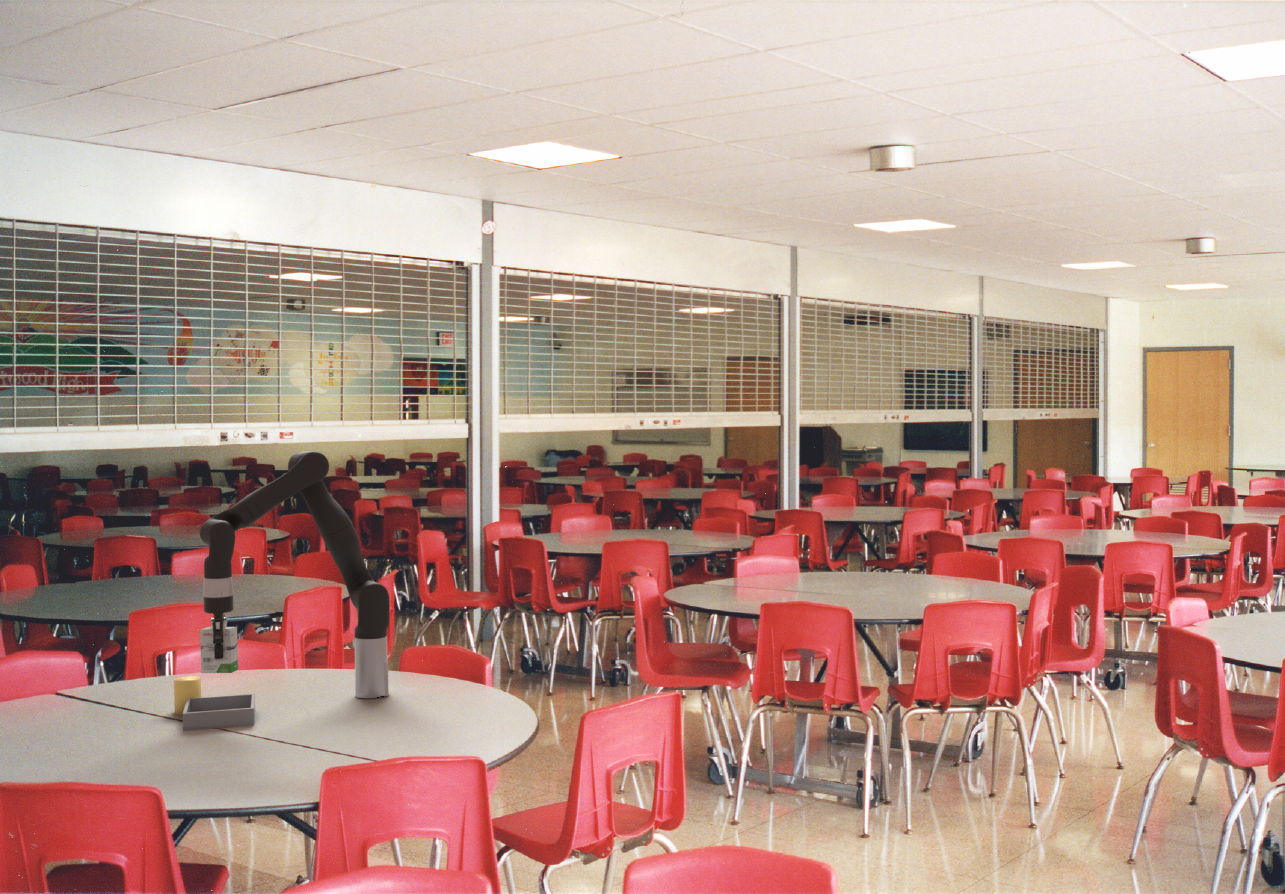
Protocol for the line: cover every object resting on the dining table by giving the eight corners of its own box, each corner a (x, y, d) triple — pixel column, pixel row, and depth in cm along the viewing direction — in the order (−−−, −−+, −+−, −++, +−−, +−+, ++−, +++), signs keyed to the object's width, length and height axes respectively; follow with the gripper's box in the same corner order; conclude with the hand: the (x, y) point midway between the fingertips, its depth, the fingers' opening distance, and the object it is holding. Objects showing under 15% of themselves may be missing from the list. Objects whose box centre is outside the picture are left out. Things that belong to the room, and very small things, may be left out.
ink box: (239, 669, 329) (238, 626, 328) (231, 673, 324) (230, 629, 323) (208, 669, 329) (207, 625, 329) (200, 673, 324) (199, 629, 324)
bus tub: (255, 709, 338) (254, 693, 338) (254, 725, 321) (253, 708, 321) (187, 714, 333) (187, 698, 333) (183, 730, 316) (182, 713, 316)
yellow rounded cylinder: (202, 707, 341) (201, 675, 341) (200, 713, 334) (200, 680, 334) (175, 709, 339) (174, 677, 339) (173, 715, 332) (172, 682, 332)
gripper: (232, 597, 320) (233, 660, 321) (234, 589, 334) (235, 650, 334) (201, 598, 318) (203, 662, 318) (205, 591, 332) (206, 652, 332)
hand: (219, 656), depth 326 cm, fingers closed on ink box, 6 cm apart
